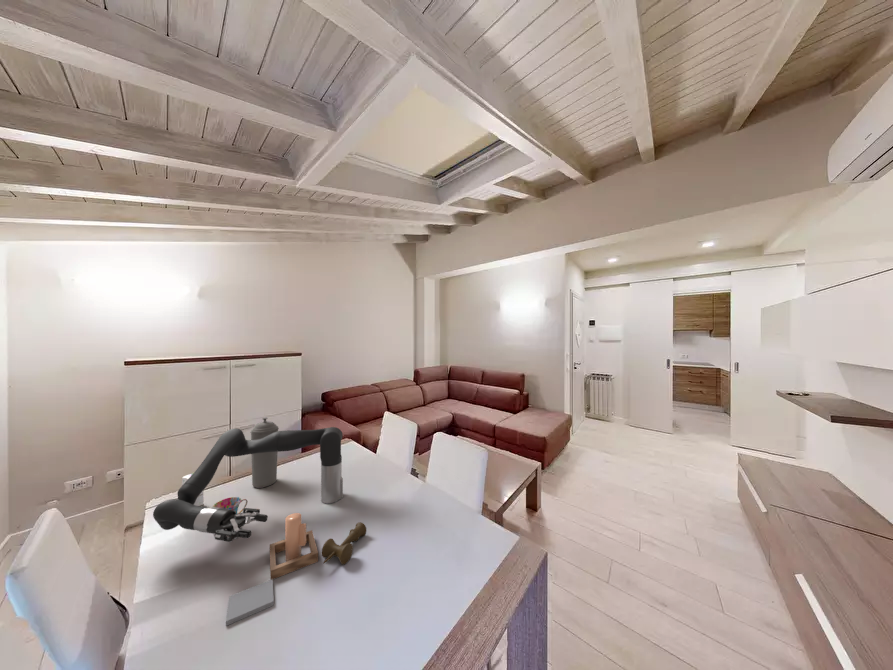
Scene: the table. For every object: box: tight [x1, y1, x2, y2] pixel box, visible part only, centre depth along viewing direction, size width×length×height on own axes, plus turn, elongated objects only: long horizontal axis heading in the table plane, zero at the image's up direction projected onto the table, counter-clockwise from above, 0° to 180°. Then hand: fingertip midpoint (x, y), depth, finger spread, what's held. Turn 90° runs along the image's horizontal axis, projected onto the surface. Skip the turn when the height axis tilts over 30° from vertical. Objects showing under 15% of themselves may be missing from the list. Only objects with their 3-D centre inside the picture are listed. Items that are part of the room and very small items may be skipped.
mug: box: [212, 496, 248, 514], centre depth 117 cm, size 12×9×11 cm
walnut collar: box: [269, 529, 319, 580], centre depth 101 cm, size 14×14×3 cm
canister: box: [250, 417, 279, 489], centre depth 153 cm, size 13×13×35 cm
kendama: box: [321, 522, 367, 566], centre depth 104 cm, size 6×10×20 cm
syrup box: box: [181, 472, 205, 506], centre depth 132 cm, size 6×6×14 cm
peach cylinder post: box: [284, 512, 307, 562], centre depth 101 cm, size 7×5×14 cm
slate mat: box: [225, 579, 275, 626], centre depth 84 cm, size 11×9×1 cm
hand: (258, 526), depth 101 cm, fingers open, 8 cm apart
